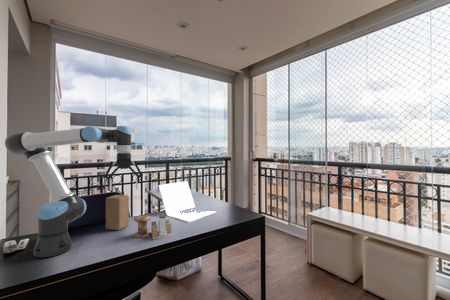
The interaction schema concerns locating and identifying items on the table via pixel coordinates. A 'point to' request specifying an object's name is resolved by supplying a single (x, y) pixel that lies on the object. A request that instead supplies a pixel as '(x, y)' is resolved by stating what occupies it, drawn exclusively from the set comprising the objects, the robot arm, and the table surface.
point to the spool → (142, 226)
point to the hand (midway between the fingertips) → (123, 189)
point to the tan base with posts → (155, 230)
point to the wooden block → (117, 212)
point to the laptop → (179, 201)
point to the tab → (161, 224)
